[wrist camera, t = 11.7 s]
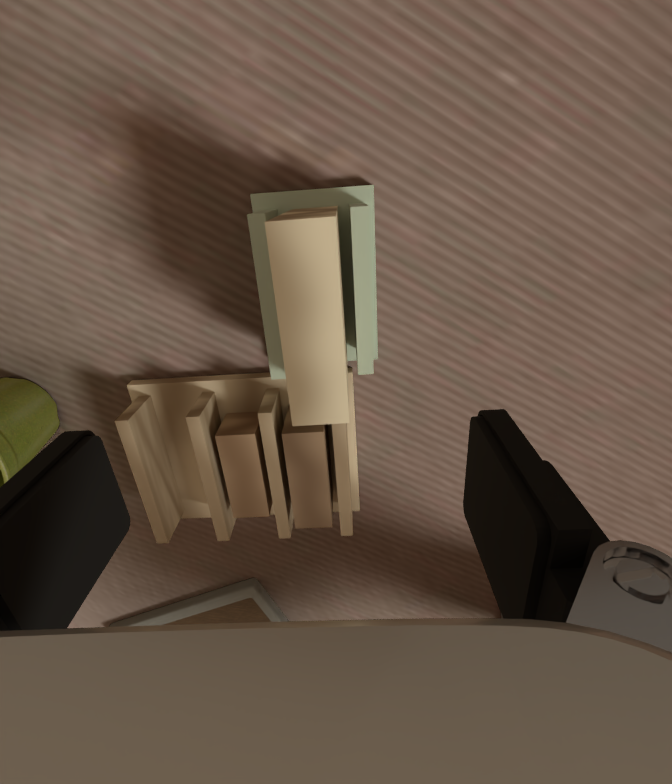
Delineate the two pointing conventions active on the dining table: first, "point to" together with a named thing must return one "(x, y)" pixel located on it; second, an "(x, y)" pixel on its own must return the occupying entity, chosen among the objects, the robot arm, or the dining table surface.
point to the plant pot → (23, 424)
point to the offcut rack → (200, 452)
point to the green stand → (354, 262)
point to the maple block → (310, 312)
